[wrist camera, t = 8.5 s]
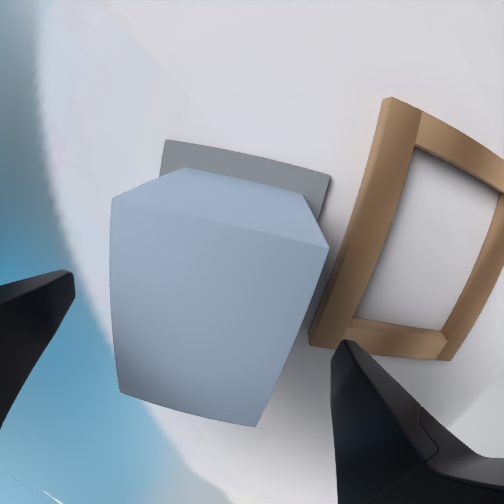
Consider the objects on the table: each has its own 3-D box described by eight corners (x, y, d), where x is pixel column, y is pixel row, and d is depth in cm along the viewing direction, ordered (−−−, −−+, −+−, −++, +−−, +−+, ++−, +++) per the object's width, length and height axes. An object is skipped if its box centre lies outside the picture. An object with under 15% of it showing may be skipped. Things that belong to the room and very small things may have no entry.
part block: (302, 193, 12) (329, 248, 6) (261, 328, 14) (255, 427, 9) (184, 167, 12) (112, 198, 6) (166, 305, 14) (120, 392, 9)
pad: (328, 174, 12) (330, 175, 11) (275, 342, 15) (275, 345, 15) (167, 139, 11) (165, 139, 11) (149, 312, 15) (147, 314, 15)
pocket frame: (520, 177, 10) (531, 181, 9) (444, 351, 15) (450, 360, 14) (383, 99, 10) (391, 96, 9) (307, 333, 15) (309, 345, 14)
